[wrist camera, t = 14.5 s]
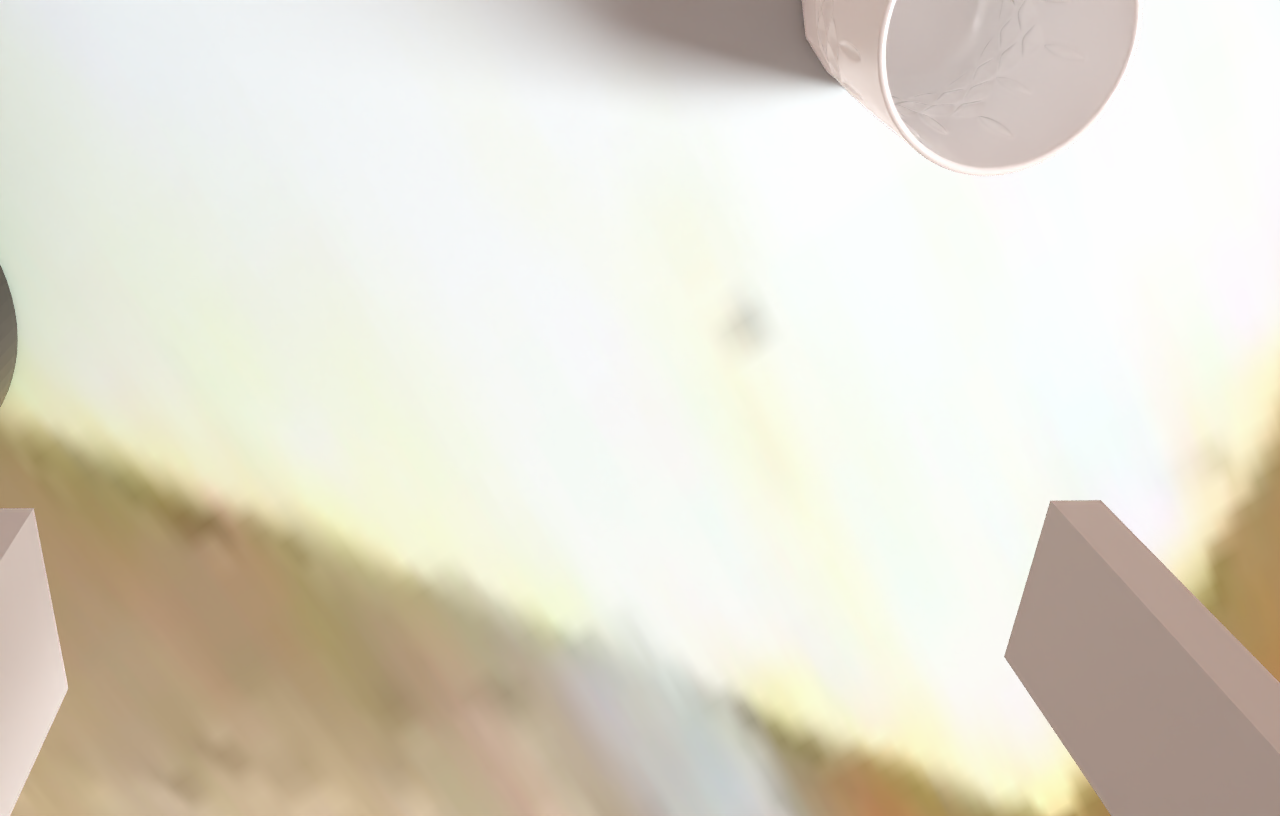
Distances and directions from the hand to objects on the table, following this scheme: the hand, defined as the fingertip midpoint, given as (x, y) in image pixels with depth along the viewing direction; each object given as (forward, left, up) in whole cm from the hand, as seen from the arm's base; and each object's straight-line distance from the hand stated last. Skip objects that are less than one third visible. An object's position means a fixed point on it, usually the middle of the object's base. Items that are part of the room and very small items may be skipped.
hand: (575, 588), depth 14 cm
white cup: (+14, +5, -29) cm, 32 cm away
